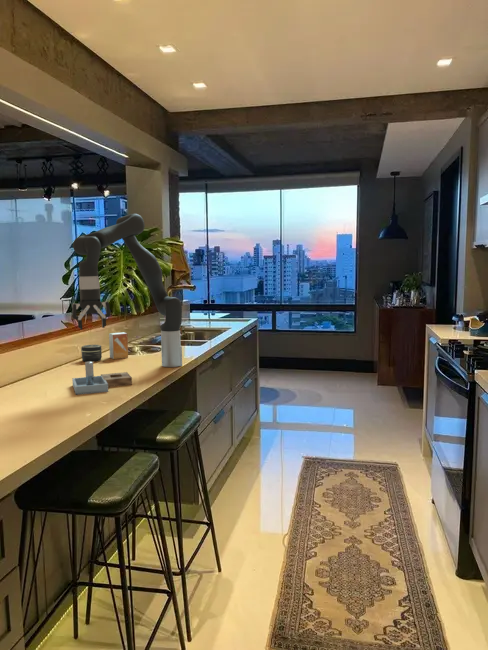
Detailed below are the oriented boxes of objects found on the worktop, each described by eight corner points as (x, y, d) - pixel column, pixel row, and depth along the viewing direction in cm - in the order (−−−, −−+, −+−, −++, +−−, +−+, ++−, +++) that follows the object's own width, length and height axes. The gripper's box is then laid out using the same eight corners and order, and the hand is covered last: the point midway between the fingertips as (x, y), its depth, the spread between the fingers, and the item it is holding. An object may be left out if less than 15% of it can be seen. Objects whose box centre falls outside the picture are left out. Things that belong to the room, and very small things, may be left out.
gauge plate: (127, 378, 216) (127, 372, 215) (131, 384, 205) (131, 377, 205) (101, 381, 211) (100, 374, 211) (104, 387, 201) (104, 380, 201)
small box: (113, 359, 260) (112, 334, 258) (109, 357, 265) (108, 333, 263) (128, 357, 264) (127, 333, 262) (124, 355, 269) (123, 331, 268)
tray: (103, 382, 209) (102, 375, 209) (108, 391, 195) (107, 384, 194) (72, 385, 205) (72, 378, 204) (75, 394, 190) (75, 387, 190)
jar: (106, 359, 260) (105, 344, 259) (94, 363, 251) (93, 348, 250) (89, 358, 264) (89, 343, 263) (77, 361, 254) (76, 347, 253)
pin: (93, 385, 202) (92, 361, 200) (94, 387, 199) (93, 362, 198) (86, 386, 200) (84, 361, 199) (86, 388, 198) (85, 363, 196)
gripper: (106, 286, 204) (109, 326, 206) (69, 288, 198) (72, 328, 200) (109, 287, 197) (112, 328, 199) (71, 289, 191) (74, 331, 194)
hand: (92, 328), depth 200 cm, fingers open, 8 cm apart
